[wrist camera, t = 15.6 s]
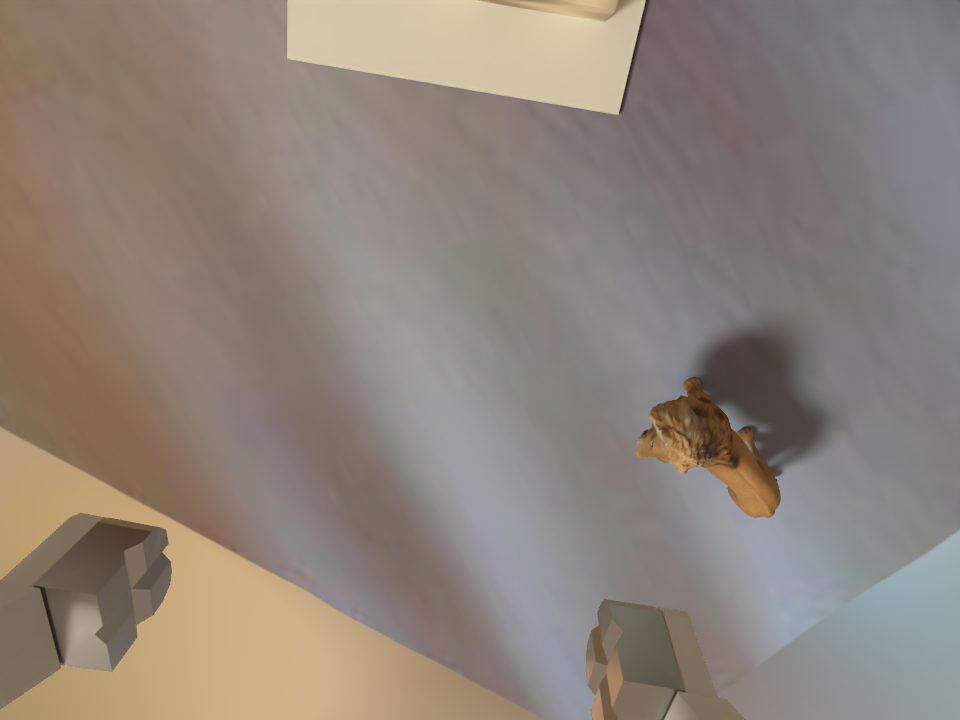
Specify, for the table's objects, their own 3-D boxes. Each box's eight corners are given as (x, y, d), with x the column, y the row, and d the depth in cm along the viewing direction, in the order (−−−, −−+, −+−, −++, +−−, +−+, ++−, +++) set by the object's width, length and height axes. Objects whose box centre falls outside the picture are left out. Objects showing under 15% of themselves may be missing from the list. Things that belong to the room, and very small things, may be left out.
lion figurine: (608, 397, 41) (631, 469, 33) (659, 345, 39) (696, 408, 31) (747, 496, 44) (800, 585, 36) (801, 453, 42) (869, 536, 34)
